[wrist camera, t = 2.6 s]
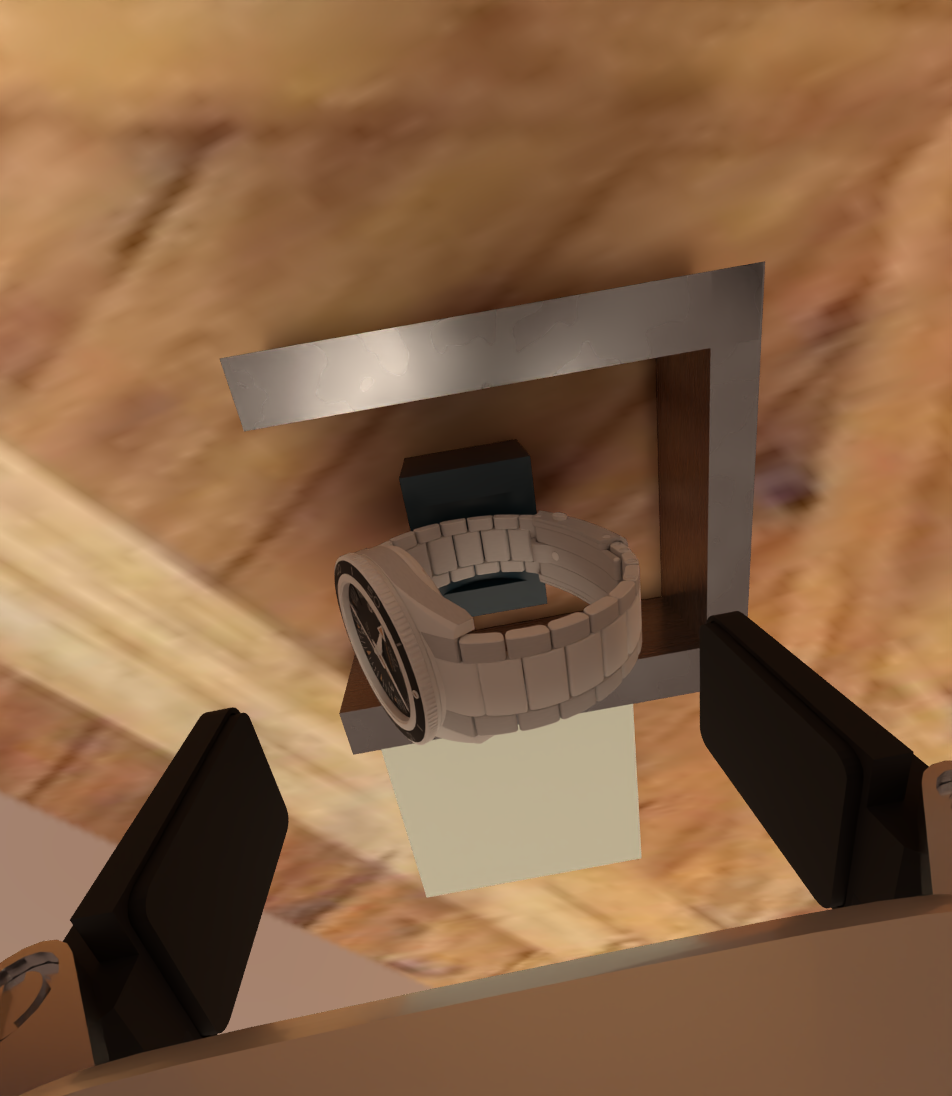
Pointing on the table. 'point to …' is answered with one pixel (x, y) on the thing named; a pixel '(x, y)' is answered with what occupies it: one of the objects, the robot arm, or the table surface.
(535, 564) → the watch
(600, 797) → the sage mat
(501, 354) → the u-shaped metal bracket
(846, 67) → the table surface
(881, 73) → the table surface
